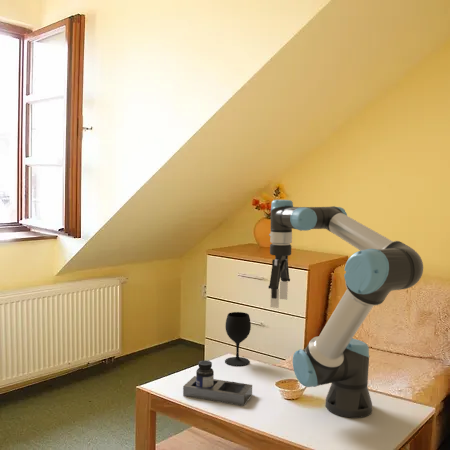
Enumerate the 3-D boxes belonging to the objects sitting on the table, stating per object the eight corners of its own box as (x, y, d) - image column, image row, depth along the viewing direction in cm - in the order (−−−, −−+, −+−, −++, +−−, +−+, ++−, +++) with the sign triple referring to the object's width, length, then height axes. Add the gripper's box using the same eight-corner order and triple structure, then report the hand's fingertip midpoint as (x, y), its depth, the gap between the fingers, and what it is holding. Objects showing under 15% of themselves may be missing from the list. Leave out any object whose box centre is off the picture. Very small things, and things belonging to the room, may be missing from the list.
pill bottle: (194, 390, 186) (194, 360, 186) (210, 388, 188) (211, 358, 187) (198, 397, 181) (198, 366, 180) (215, 395, 182) (216, 364, 182)
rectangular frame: (252, 394, 184) (252, 384, 184) (243, 405, 174) (243, 395, 174) (194, 385, 191) (194, 376, 191) (183, 395, 182) (183, 386, 181)
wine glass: (235, 368, 209) (237, 319, 208) (219, 361, 217) (220, 313, 216) (255, 363, 216) (256, 315, 214) (238, 356, 224) (239, 310, 222)
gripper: (278, 239, 197) (277, 295, 199) (261, 247, 174) (259, 309, 175) (298, 240, 195) (296, 296, 196) (283, 248, 171) (281, 312, 173)
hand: (279, 303), depth 186 cm, fingers open, 13 cm apart
